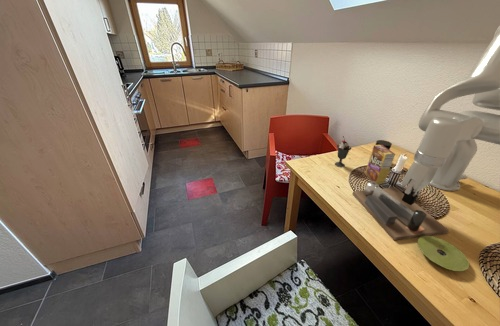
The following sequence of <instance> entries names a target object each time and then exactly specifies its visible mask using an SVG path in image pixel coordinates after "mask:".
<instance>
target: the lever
mask: <svg viewBox="0 0 500 326" xmlns="http://www.w3.org/2000/svg"><path fill="white" fill-rule="evenodd" d="M382 189H383V188H381V187H380V184H377V183H376V182H373V181H372V180H370V181H368V182H367V183H366V186H365V189H364V190H365V191H364V193H365V194H366V195H367V196H368V195H376V196H377V197H378V198H379V199H380V200H381V201H382V202H383V203H384V204H385V205H386V206H387V207H388V208H389V209H390V210H391V211H392V212H393V213H394V214H395V215H397V218H398V219H400V220H401V221H402V222H403V223H405V224H406V225H407V227H408V228H409V229H410V230H412V231H418V229H419V227H420V226H421V224H422V222H423V221H424V219H425V217H426V214H425V213H424V212H423V211H420V210H416V211H415V212H413V211H411V210H410V209H408V208H407V207H406V206H404V205H403V204H402V203H400V202H399V201H397V200H396V199H395V198H393V197H392V196H391V195H389V194H388V193H386V192H385V191H384V190H382Z"/></svg>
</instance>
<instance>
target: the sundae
mask: <svg viewBox="0 0 500 326" xmlns="http://www.w3.org/2000/svg"><path fill="white" fill-rule="evenodd" d="M342 138H343V140H342V142H339V144H337V145H336V148H337V157H338V159H339V161H336V162H334V166H336V167H338V168H344V167H345V166H346V164H345V163H343V160H345V159H346V158H347V156H348V154H349V152H350V151H351V150H352V147H351V146H349V143H348V142H347V141H346V140H345V139H346V138H345V136H342Z"/></svg>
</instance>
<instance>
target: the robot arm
mask: <svg viewBox="0 0 500 326" xmlns="http://www.w3.org/2000/svg"><path fill="white" fill-rule="evenodd" d="M472 95H473V98H472V100H471V101H472V104H473V105H474V106H476V107H479V108H482V109H489V110H494V111H500V25H499V26H498V27H497V29H496V30H495V32H494V35H493V39H491V41H490V43H489V44H488V46H487V47H486V49H485V50H484V51H483V52H482V54H481V56H480V58H479V59H478V60H477V62H476V63H475V65H474V66H473V68H472V69H471V70H470V72H469V74H468V75H467V76H466V77H464V79H462V80H460V81H458V82H455V83H453V84H451V85H449V86H448V87H446V88H445V89H443V90H441V91H440V92H439V93H437V94H436V95H435V96H434V97H433V98H432V99H431V100H430V103H429V104H428V105H427V107H426V108H425V110H424V111H423V113H422V114H421V116H420V118H419V121H418V124H417V125H418V128H419V130H421V131H422V132H424V134H423V135H422V136H423V137H422V138H421V141H420V143H419V145H418V148H417V149H416V151H415V154H414V156H413V160H414V161H413V162H412V163H411V165H410V166H409V168H408V170H407V171H406V172H405V176H404V177H403V179H402V181H401V182H400V186H401V187H405V186H407V187H406V188H405V189H404V193H403V194H404V196H403V198H402V201H404V202H406V203H407V204H409V205H412V204H414V202H415V203H416V200H417V199H418V197H419V194H420V193H421V191H422V190H423V189H424V188H426V187H427V186H429V185H430V186H432V187H434V188H437V189H440V190H442V191H450V192H455V191H458V190H460V188H461V184H460V182H459V181H461V180H466V179H468V176H467V175H466V174H464V172H465V171H466V169H467V168H468V166H469V165H470V163H471V161H472V160H473V158H474V156H475V155H476V154H477V151H478V144H477V141H476V140H478V141H482V142H487V143H491V144H493V145H500V114H496V113H493V112H492V113H490V112H485V111H479V110H465V111H462V112H460V113H459V112H456V111H455V112H454V111H449V110H444V109H441V108H442V107H443V106H444V105H445V104H447V103H449V102H450V101H452V100H455V99H457V98H462V97H465V96H472Z"/></svg>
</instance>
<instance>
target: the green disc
mask: <svg viewBox="0 0 500 326" xmlns="http://www.w3.org/2000/svg"><path fill="white" fill-rule="evenodd" d="M417 246H418V248H419V250H420V251H421V253H422V254H423V255H424V256H425V257H426V258H427V259H428V260H430V261H431V262H433V263H435V264H436V265H438V266H439V267H442V268H445V269H447V270H449V271H454V272H464V271H467V269H469V266H470V265H469V264H470V263H469V260H468V258H467V257H466V255H465V254H464V253H463V252H462V250H460V248H459V247H456V246H455V245H453V244H452V243H450V242H448V241H447V240H444V239H442V238H439V237H436V236H423V237H418V238H417Z"/></svg>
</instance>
